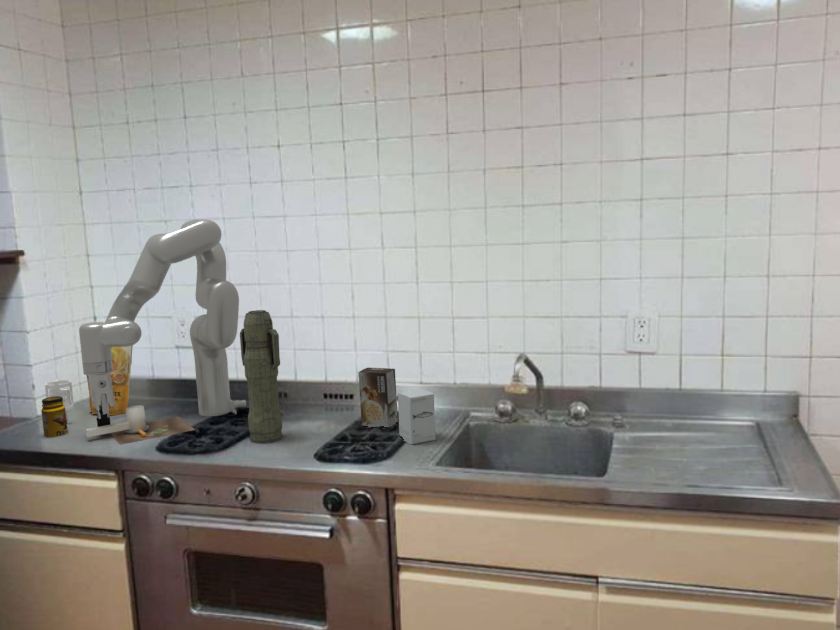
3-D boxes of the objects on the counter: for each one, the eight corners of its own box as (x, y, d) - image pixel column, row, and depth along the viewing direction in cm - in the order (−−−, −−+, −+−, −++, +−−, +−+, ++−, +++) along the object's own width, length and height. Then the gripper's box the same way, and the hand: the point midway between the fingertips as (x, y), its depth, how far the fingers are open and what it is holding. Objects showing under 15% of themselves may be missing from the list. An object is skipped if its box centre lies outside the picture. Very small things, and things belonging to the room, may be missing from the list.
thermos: (277, 444, 188) (267, 313, 183) (238, 441, 192) (228, 313, 187) (293, 434, 196) (285, 309, 192) (256, 432, 200) (247, 309, 196)
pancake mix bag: (97, 409, 234) (88, 325, 230) (143, 412, 227) (134, 326, 223) (81, 414, 228) (71, 328, 224) (127, 418, 221) (118, 329, 217)
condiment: (71, 439, 201) (66, 398, 199) (37, 446, 196) (32, 403, 194) (67, 433, 207) (63, 393, 205) (35, 439, 202) (30, 398, 200)
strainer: (48, 432, 209) (42, 382, 207) (52, 425, 216) (46, 377, 214) (74, 429, 211) (69, 379, 209) (77, 422, 218) (72, 375, 216)
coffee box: (399, 423, 203) (396, 368, 201) (389, 429, 198) (387, 373, 195) (370, 420, 207) (367, 366, 205) (360, 427, 201) (357, 371, 199)
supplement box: (411, 445, 183) (409, 397, 181) (398, 438, 189) (396, 392, 188) (436, 440, 186) (434, 393, 184) (423, 433, 193) (421, 387, 191)
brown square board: (178, 421, 215) (178, 416, 215) (195, 434, 200) (195, 429, 200) (107, 434, 204) (107, 429, 204) (120, 449, 189) (119, 444, 189)
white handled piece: (145, 425, 205) (143, 403, 204) (156, 434, 196) (154, 410, 195) (85, 437, 196) (82, 414, 195) (93, 446, 187) (91, 422, 186)
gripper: (117, 369, 192) (123, 435, 194) (108, 361, 204) (114, 423, 207) (87, 373, 188) (94, 440, 190) (79, 365, 200) (86, 428, 203)
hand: (104, 431), depth 198 cm, fingers closed
